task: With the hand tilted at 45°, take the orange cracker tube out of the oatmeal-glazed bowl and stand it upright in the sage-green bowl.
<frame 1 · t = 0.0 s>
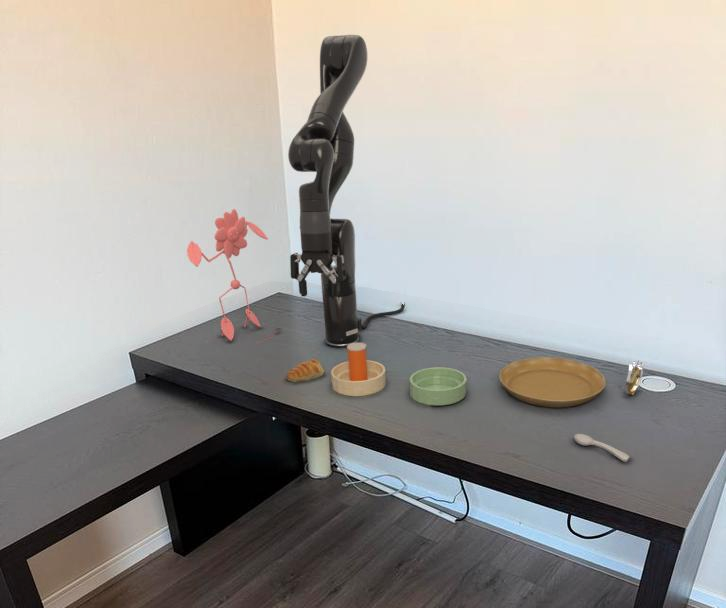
hand: (319, 296, 174), 17 cm above the table, tool pointing down, fingers open, 8 cm apart
plant saucer: (550, 390, 161), on the table
oatmeal bowl: (359, 386, 168), on the table
pastry: (306, 377, 175), on the table
spoon: (600, 451, 137), on the table
ring: (631, 395, 157), on the table
sage bowl: (437, 394, 162), on the table
cracker tube: (358, 384, 168), resting on oatmeal bowl
figurine: (249, 336, 202), on the table
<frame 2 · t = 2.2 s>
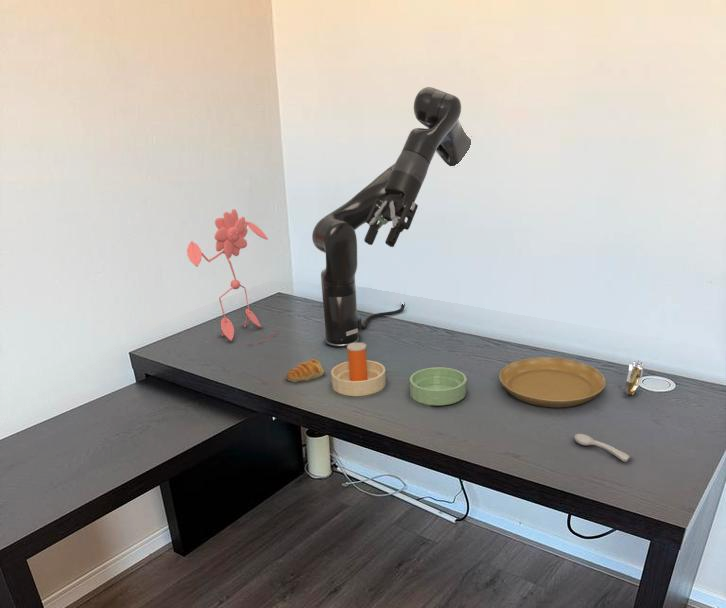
hand: (378, 244, 157), 32 cm above the table, tool tilted 40°, fingers open, 8 cm apart
nothing on the table moved.
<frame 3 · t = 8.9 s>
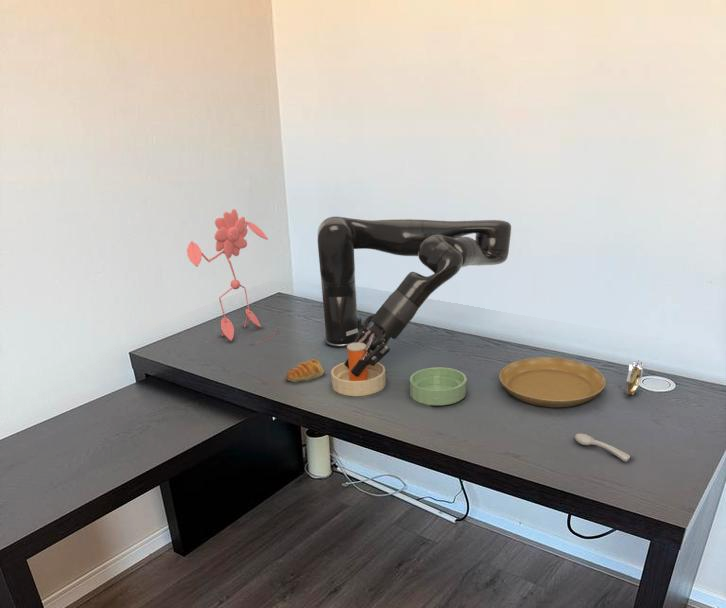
hand: (350, 370, 165), 5 cm above the table, tool tilted 45°, fingers closed on cracker tube, 4 cm apart
cracker tube: (358, 384, 168), point 1 cm above the table, touching gripper, oatmeal bowl
everything else where it was.
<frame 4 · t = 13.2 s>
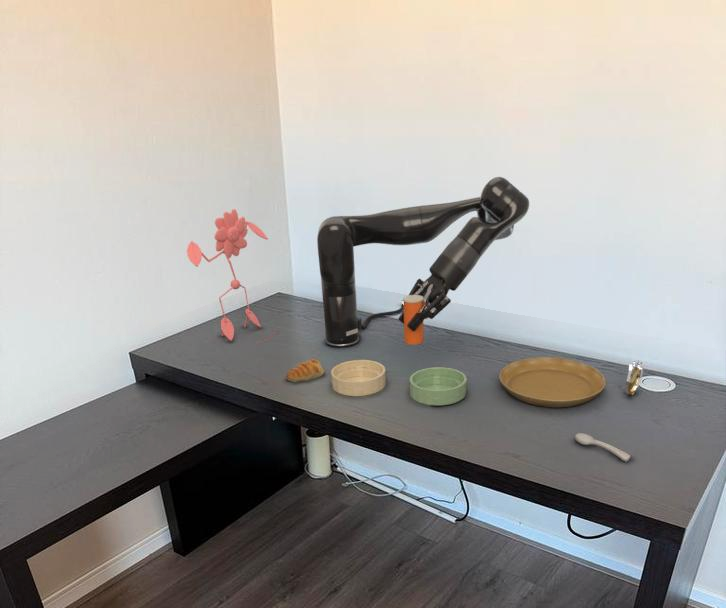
hand: (405, 325, 154), 17 cm above the table, tool tilted 45°, fingers closed on cracker tube, 4 cm apart
cracker tube: (413, 340, 157), point 13 cm above the table, touching gripper
everything else where it was.
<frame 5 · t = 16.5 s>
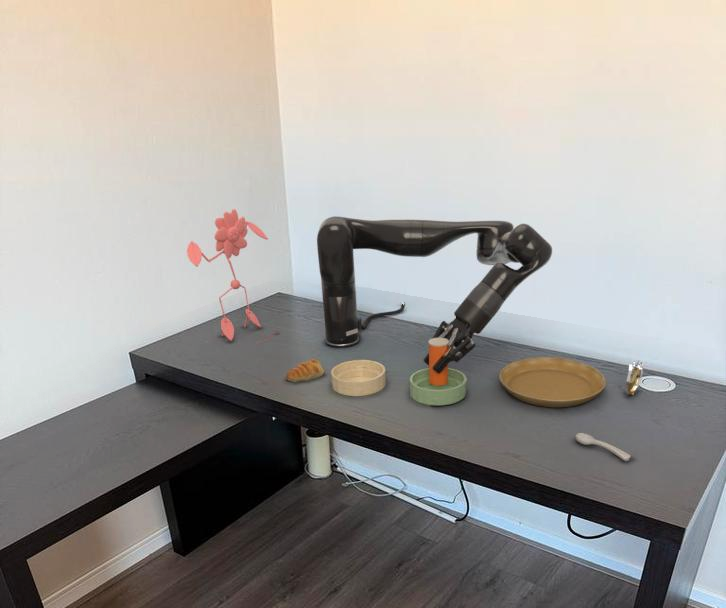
hand: (430, 367, 158), 7 cm above the table, tool tilted 45°, fingers closed on cracker tube, 4 cm apart
cracker tube: (438, 381, 160), point 3 cm above the table, touching gripper
everything else where it was.
when the fingers open (5 cm above the table, at t = 17.8 s): cracker tube stays where it is, resting on sage bowl.
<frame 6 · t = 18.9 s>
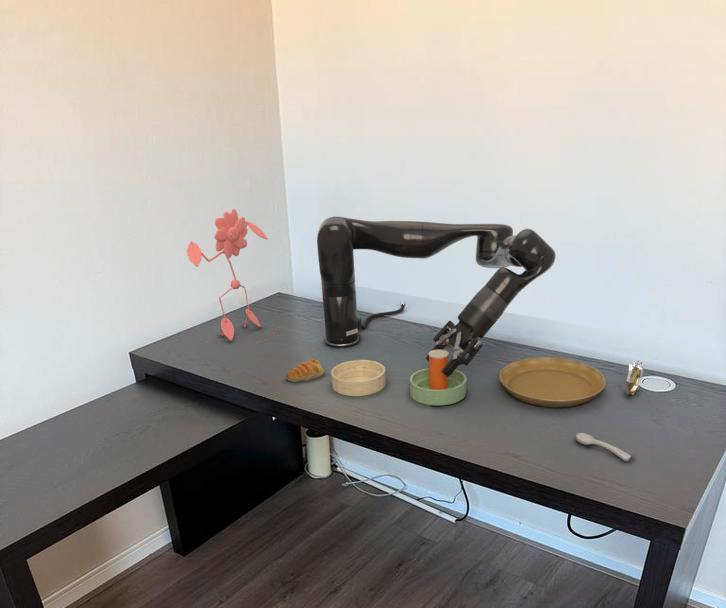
hand: (436, 367, 158), 7 cm above the table, tool tilted 45°, fingers open, 8 cm apart
cracker tube: (438, 392, 162), resting on sage bowl
everything else where it was.
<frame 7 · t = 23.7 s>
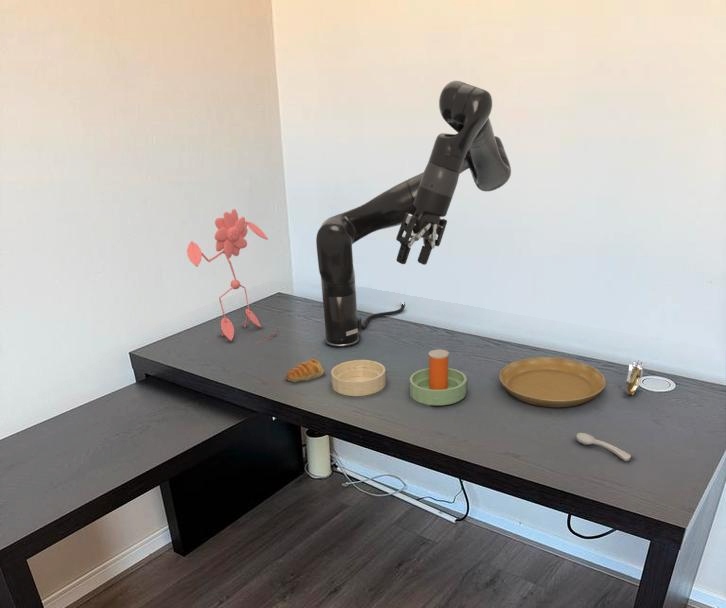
hand: (411, 263, 153), 29 cm above the table, tool tilted 20°, fingers open, 8 cm apart
nothing on the table moved.
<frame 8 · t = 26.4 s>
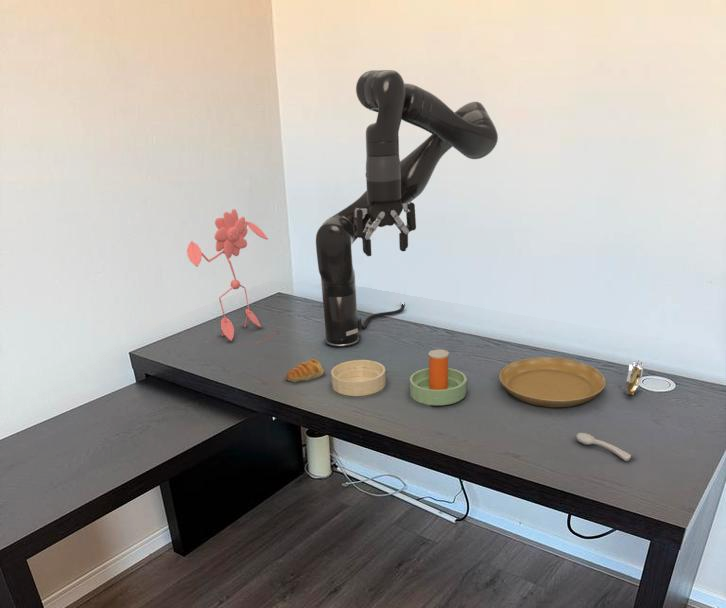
hand: (385, 253, 157), 30 cm above the table, tool pointing down, fingers open, 8 cm apart
nothing on the table moved.
at the end: cracker tube inside the target area in the sage bowl (0.1 cm from its centre), point 0.5 cm above the sage bowl's base; cracker tube tilted 0°; the gripper is holding nothing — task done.
